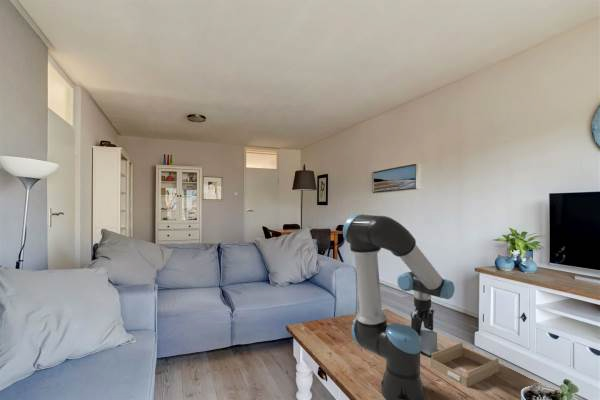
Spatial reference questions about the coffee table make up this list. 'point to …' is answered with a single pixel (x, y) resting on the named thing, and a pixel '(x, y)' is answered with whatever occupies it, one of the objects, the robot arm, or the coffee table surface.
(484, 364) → the wooden tray
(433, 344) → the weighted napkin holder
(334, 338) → the coffee table surface
